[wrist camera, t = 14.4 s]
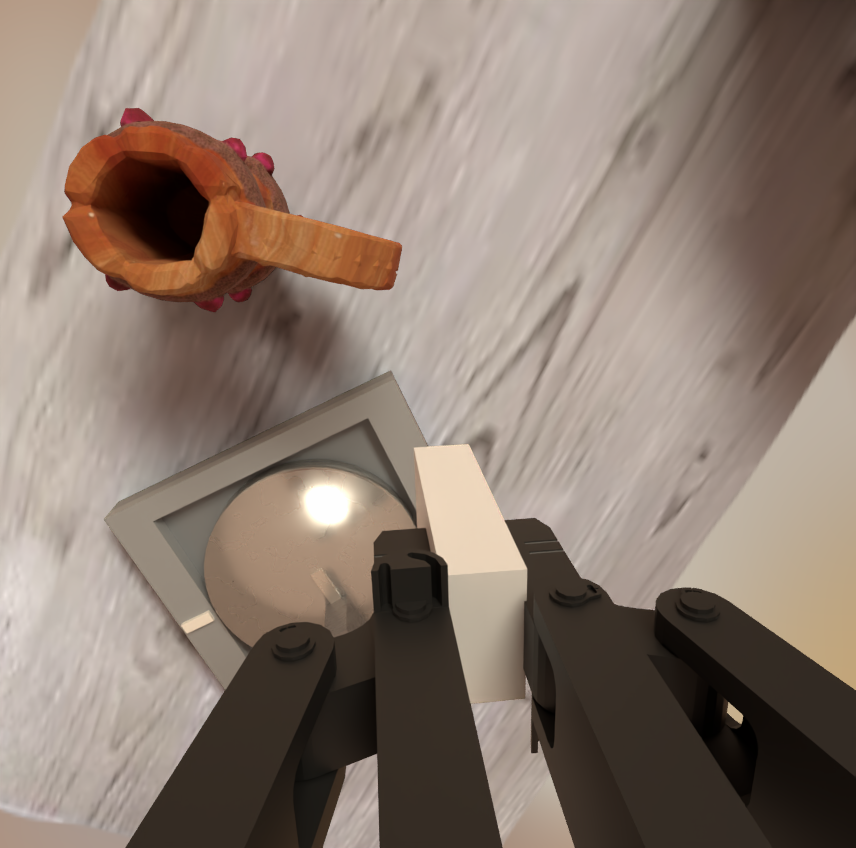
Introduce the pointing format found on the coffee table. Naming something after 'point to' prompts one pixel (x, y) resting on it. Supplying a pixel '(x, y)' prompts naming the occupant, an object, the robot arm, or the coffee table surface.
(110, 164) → the mug
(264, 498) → the dial
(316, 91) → the coffee table surface
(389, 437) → the board
